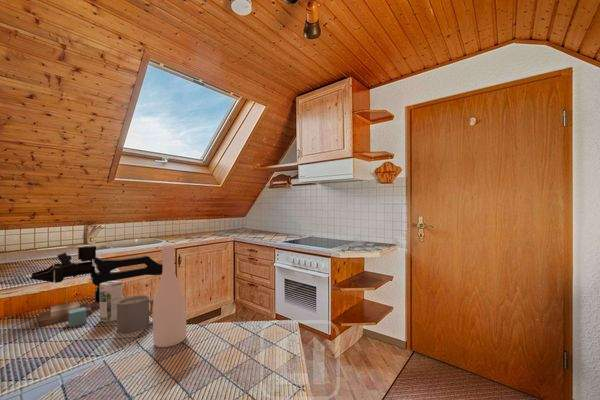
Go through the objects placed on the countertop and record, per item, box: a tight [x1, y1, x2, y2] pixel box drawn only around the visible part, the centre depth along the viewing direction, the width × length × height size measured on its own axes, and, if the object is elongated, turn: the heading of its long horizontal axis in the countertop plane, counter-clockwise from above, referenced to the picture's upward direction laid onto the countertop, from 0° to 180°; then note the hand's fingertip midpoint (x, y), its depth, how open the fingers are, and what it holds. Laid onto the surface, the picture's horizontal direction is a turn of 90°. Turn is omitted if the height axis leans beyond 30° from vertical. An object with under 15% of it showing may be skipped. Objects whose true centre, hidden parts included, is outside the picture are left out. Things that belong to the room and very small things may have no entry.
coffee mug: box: [116, 294, 155, 335], centre depth 99 cm, size 13×10×10 cm
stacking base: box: [37, 301, 93, 328], centre depth 113 cm, size 16×13×4 cm
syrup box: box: [99, 280, 124, 323], centre depth 107 cm, size 6×6×14 cm
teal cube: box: [68, 307, 88, 328], centre depth 104 cm, size 5×5×5 cm
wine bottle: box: [152, 244, 188, 348], centre depth 86 cm, size 10×10×30 cm
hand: (31, 276), depth 116 cm, fingers open, 9 cm apart
